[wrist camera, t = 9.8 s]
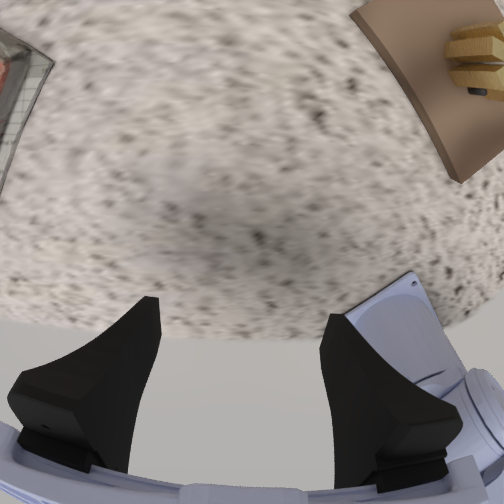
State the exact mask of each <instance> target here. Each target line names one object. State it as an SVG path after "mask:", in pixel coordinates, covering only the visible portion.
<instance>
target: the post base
mask: <svg viewBox="0 0 504 504" xmlns="http://www.w3.org/2000/svg"><path fill="white" fill-rule="evenodd" d="M350 17H351V18H352V19H353V20H354V22H355V23H356V24H357V25H358V27H359V28H360V29H361V30H362V32H363V33H364V34H365V35H366V37H367V38H368V39H369V41H370V42H371V43H372V45H373V46H374V47H375V49H376V50H377V52H378V53H379V54H380V56H381V57H382V59H383V60H384V61H385V63H386V64H387V66H388V67H389V69H390V70H391V72H392V73H393V75H394V76H395V78H396V79H397V81H398V82H399V84H400V85H401V87H402V89H403V90H404V92H405V93H406V95H407V97H408V98H409V100H410V102H411V103H412V105H413V107H414V108H415V110H416V112H417V114H418V115H419V117H420V119H421V121H422V122H423V124H424V126H425V128H426V130H427V132H428V133H429V135H430V137H431V139H432V141H433V143H434V145H435V147H436V149H437V151H438V153H439V155H440V157H441V159H442V161H443V163H444V165H445V167H446V170H447V172H448V174H449V176H450V178H451V179H453V180H455V181H457V182H458V183H460V184H462V183H463V182H464V181H466V180H467V179H468V178H470V177H471V176H472V175H473V174H475V173H476V172H477V171H478V170H480V169H481V168H482V167H483V166H484V165H486V164H487V163H488V162H489V161H491V160H492V159H493V158H494V157H495V156H497V155H498V154H499V153H500V152H501V151H503V150H504V102H501V101H495V100H489V99H485V97H484V96H486V95H487V89H484V88H473V87H460V86H455V85H454V83H453V81H452V79H451V77H450V76H449V74H448V72H447V71H448V70H450V69H451V68H453V67H454V66H456V65H467V64H504V62H465V63H455V62H453V61H450V60H448V59H445V58H444V47H445V42H451V41H454V39H453V38H452V36H451V35H450V33H451V32H452V31H454V30H456V29H457V28H459V27H463V26H468V25H473V24H479V23H485V22H491V21H498V20H504V17H503V16H502V14H501V12H500V10H499V9H498V7H497V5H496V4H495V2H494V0H373V1H371V2H369V3H367V4H366V5H364V6H362V7H360V8H358V9H357V10H355V11H354V12H353V13H351V14H350Z"/></svg>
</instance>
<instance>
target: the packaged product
mask: <svg viewBox="0 0 504 504" xmlns="http://www.w3.org/2000/svg"><path fill="white" fill-rule="evenodd" d="M53 64H54V62H52V61H51V60H50V59H48V58H47V57H45V56H44V55H42V54H41V53H39V52H38V51H37V50H35V49H34V48H32V47H31V46H29V45H28V44H26V43H24V42H22V41H20V40H18V39H16V38H14V37H12V36H11V35H10V34H8V33H7V32H5V31H3V30H2V29H0V193H1V190H2V186H3V183H4V180H5V177H6V174H7V171H8V168H9V166H10V163H11V161H12V158H13V156H14V154H15V151H16V147H17V145H18V143H19V139H20V136H21V133H22V130H23V127H24V124H25V122H26V120H27V118H28V116H29V113H30V111H31V109H32V107H33V104H34V102H35V100H36V98H37V96H38V94H39V92H40V90H41V88H42V86H43V84H44V82H45V80H46V78H47V76H48V73H49V71H50V69H51V67H52V65H53Z"/></svg>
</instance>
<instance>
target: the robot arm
mask: <svg viewBox="0 0 504 504" xmlns="http://www.w3.org/2000/svg"><path fill="white" fill-rule="evenodd" d="M413 281H415V282H414V283H413V284H412V282H413ZM161 335H162V333H161V322H160V309H159V298H157V297H149V296H144V297H143V298H142V299H141V300H140V301H139V302H138V303H136V304H135V305H134V306H133V307H132V308H131V309H130V310H129V311H128V312H127V313H126V314H125V315H123V316H122V317H121V318H120V319H119V320H118V321H117V322H115V323H114V324H113V325H112V326H111V327H109V328H108V329H107V330H106V331H104V332H103V333H102V334H101V335H99V336H98V337H97V338H95V339H94V340H92V341H90V342H89V343H87V344H86V345H85V346H83V347H81V348H79V349H77V350H75V351H74V352H72V353H70V354H68V355H66V356H64V357H62V358H60V359H57V360H55V361H53V362H50V363H48V364H46V365H42V366H39V367H36V368H33V369H30V370H26V371H22V372H21V374H20V375H19V377H18V378H17V380H16V382H15V383H14V385H13V387H12V388H11V390H10V392H9V394H8V396H7V400H8V403H9V406H10V407H11V409H12V411H13V412H14V413H15V415H16V417H17V418H18V419H19V421H20V422H21V424H23V426H24V427H23V429H22V431H21V432H20V431H18V430H17V429H15V428H14V427H12V426H10V425H8V424H5V423H3V422H1V421H0V490H2V491H3V492H5V493H7V494H8V495H10V496H12V497H14V498H16V499H17V500H19V501H21V502H23V503H25V504H504V390H503V389H502V387H501V386H500V385H499V383H498V382H497V381H496V380H495V378H493V376H492V375H491V374H490V373H489V372H488V371H486V370H484V369H476V368H472V369H471V370H470V371H469V372H467V371H466V369H465V367H464V365H463V364H462V362H461V360H460V358H459V357H458V355H457V354H456V352H455V350H454V348H453V347H452V345H451V343H450V342H449V340H448V338H447V337H446V335H445V333H444V331H443V328H442V326H441V324H440V322H439V320H438V317H437V315H436V313H435V311H434V309H433V307H432V305H431V303H430V301H429V299H428V297H427V295H426V293H425V291H424V289H423V287H422V285H421V283H420V281H419V279H418V277H417V275H416V274H415V273H414V272H409V273H407V274H406V275H404V276H403V277H402V278H400V279H399V280H397V281H396V282H394V283H393V284H391V285H390V286H388V287H387V288H385V289H384V290H382V291H381V292H379V293H378V294H376V295H375V296H373V297H372V298H370V299H369V300H367V301H366V302H364V303H363V304H361V305H360V306H358V307H356V308H355V309H353V310H352V311H350V312H348V313H347V314H345V315H344V314H332V313H330V316H329V319H328V322H327V326H326V329H325V332H324V335H323V339H322V342H321V345H320V348H319V349H320V361H321V370H322V374H323V379H324V383H325V387H326V392H327V397H328V401H329V406H330V410H331V416H332V426H333V437H334V456H335V457H334V459H335V460H334V462H335V480H334V481H335V482H334V483H335V484H334V489H333V490H318V491H302V490H299V489H294V488H269V487H268V488H266V487H241V486H227V485H226V486H225V485H215V484H196V483H195V484H190V485H181V484H174V483H168V482H163V481H157V480H152V479H147V478H142V477H138V476H133V475H128V464H129V457H130V450H131V444H132V437H133V432H134V426H135V422H136V417H137V412H138V408H139V403H140V400H141V397H142V394H143V391H144V388H145V385H146V383H147V380H148V377H149V375H150V372H151V369H152V367H153V364H154V361H155V358H156V356H157V352H158V348H159V344H160V339H161Z"/></svg>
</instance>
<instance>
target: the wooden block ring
mask: <svg viewBox="0 0 504 504" xmlns="http://www.w3.org/2000/svg"><path fill="white" fill-rule="evenodd" d="M450 35H451V36H452V38H453V39H454V41H451V42H445V47H444V58H445V59H448V60H450V61H453V62H455V63H465V62H504V20H498V21H491V22H485V23H479V24H473V25H468V26H463V27H459V28H457V29H456V30H454V31H452V32H451V33H450ZM447 72H448V74H449V76H450V77H451V79H452V81H453V83H454V85H455V86H460V87H473V88H484V89H487V95H486V96H484V97H485V99H489V100H495V101H501V102H504V64H467V65H456V66H454V67H453V68H451V69H450V70H448V71H447Z"/></svg>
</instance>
